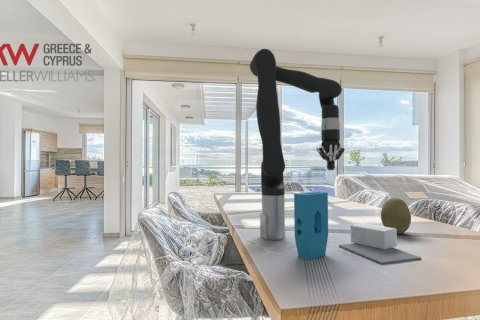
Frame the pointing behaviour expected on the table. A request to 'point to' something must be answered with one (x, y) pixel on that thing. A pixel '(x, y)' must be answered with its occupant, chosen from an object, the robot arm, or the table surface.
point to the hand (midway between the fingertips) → (331, 169)
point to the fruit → (396, 215)
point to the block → (311, 224)
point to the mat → (380, 254)
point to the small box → (374, 235)
